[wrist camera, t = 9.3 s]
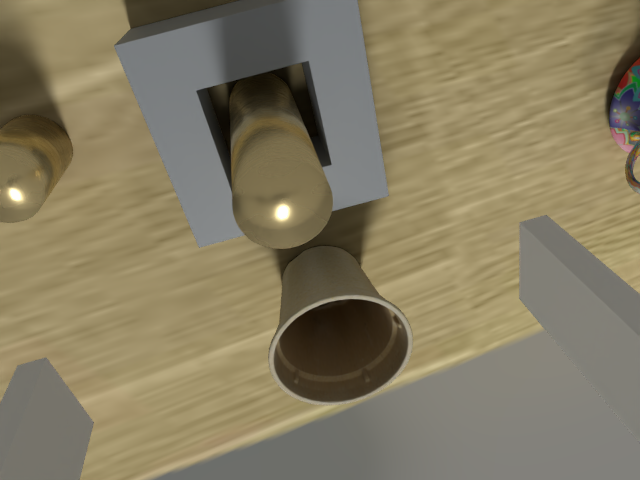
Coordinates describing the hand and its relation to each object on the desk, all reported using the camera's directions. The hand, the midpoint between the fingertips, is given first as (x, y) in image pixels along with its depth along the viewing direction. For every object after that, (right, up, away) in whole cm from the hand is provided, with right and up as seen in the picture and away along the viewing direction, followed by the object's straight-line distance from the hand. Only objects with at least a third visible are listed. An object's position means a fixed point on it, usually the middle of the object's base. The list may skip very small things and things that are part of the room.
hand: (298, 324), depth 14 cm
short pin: (-17, +8, +17) cm, 25 cm away
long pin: (-3, +11, +18) cm, 21 cm away
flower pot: (+1, 0, +26) cm, 26 cm away
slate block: (-3, +11, +18) cm, 21 cm away
